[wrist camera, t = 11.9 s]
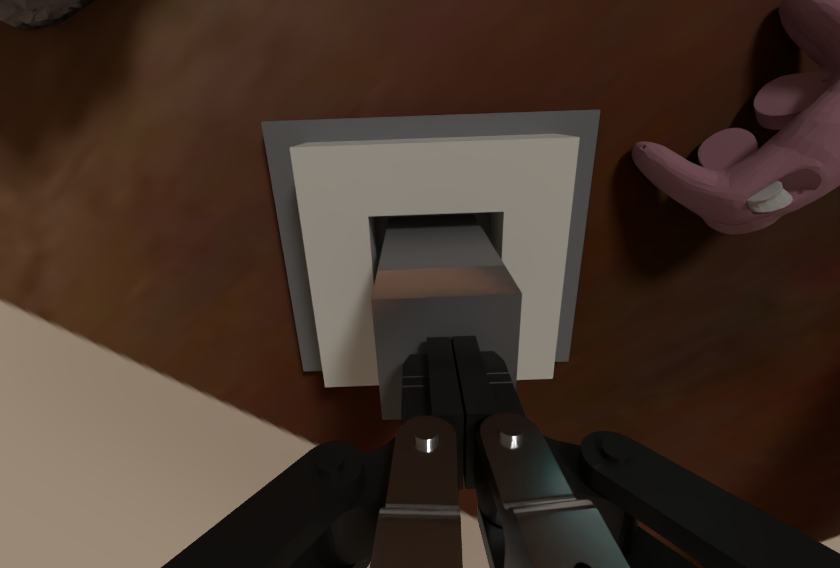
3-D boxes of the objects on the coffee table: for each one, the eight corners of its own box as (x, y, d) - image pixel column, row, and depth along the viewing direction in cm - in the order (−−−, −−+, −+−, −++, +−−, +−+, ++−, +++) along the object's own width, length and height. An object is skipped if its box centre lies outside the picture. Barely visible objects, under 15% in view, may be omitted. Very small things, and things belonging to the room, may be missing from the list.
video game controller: (643, 196, 24) (756, 268, 19) (616, 150, 21) (742, 221, 16) (801, 50, 21) (982, 89, 16) (796, -27, 18) (1017, -9, 13)
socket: (591, 109, 20) (632, 109, 17) (562, 352, 26) (588, 392, 22) (267, 121, 20) (235, 122, 16) (307, 362, 26) (289, 404, 22)
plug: (473, 214, 21) (522, 293, 12) (472, 292, 23) (514, 414, 14) (388, 218, 21) (371, 299, 12) (394, 295, 23) (382, 419, 14)
